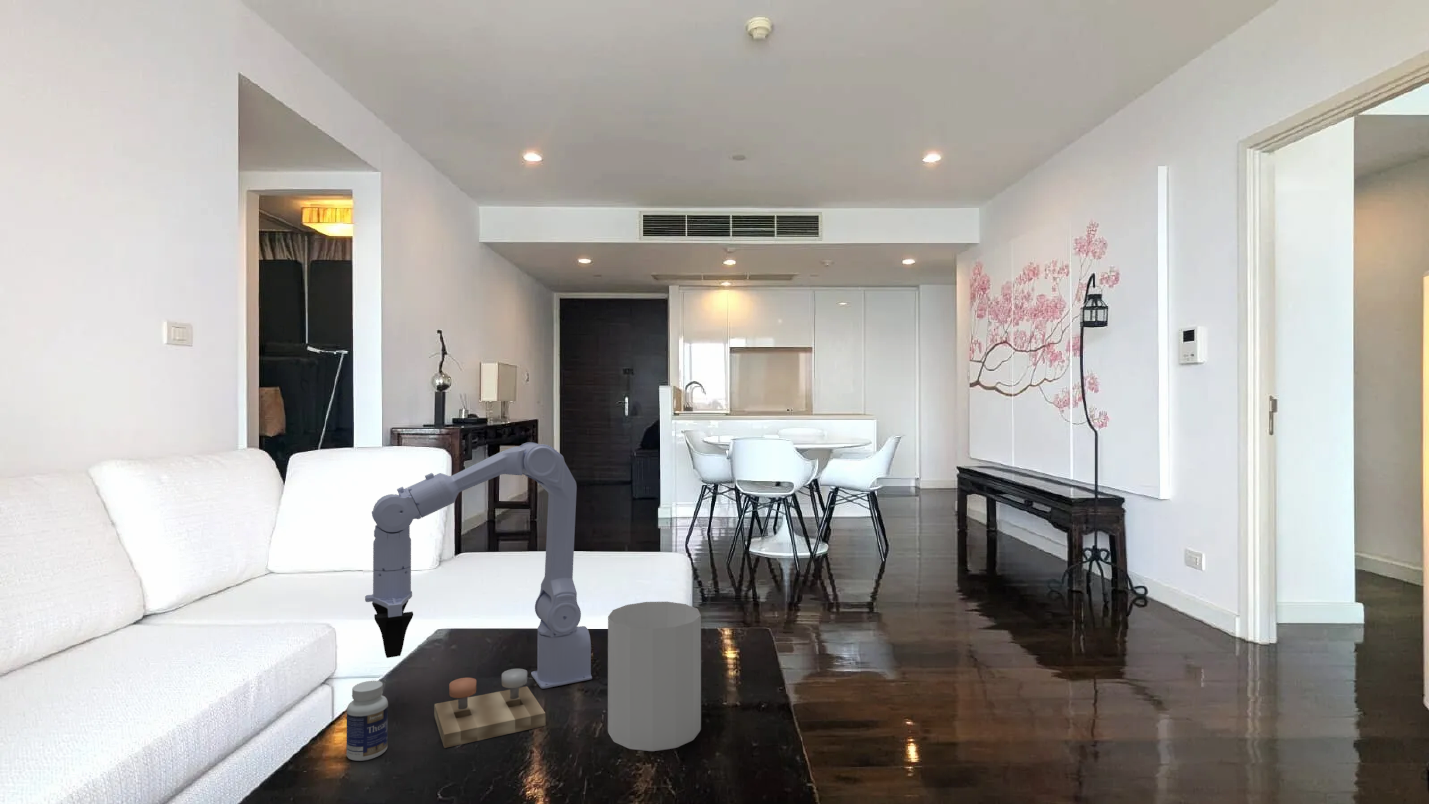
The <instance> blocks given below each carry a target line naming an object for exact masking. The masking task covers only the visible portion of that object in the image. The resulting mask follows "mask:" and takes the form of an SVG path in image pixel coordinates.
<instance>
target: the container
mask: <svg viewBox="0 0 1429 804" xmlns="http://www.w3.org/2000/svg"><path fill="white" fill-rule="evenodd" d="M701 730H702V615H701V612H700V611H699V609H698V608H696V607H695V606H694V607H693V606H692V605H689V604H686V603H680V602H674V601H673V602H671V601H642V602H636V603H632V604H631V603H630V604H625V605H622V606H621V607H620V606H619V607H618V608H614V609H612V611H611V612H610V613H609V614H608V617H607V733H608V734H609V736H610V738H611V740H612V741H613V743H614V744H615V743H616V744H618V745H620V746H623V747H624V748H627V749H629V750H636V751H648V752H655V751H664V750H670V749H671V750H672V749H676V748H679V747H681V746H684V745H685V744H688V743H690V742H692V741H694V740H695V738H696V737H697V736H698V735H699V733H700V732H701Z"/></svg>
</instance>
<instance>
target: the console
mask: <svg viewBox="0 0 1429 804" xmlns="http://www.w3.org/2000/svg"><path fill="white" fill-rule="evenodd" d="M433 707H434V714H433V715H434V720H435V723H436V725H437V729H438V732H439V736H440V739H441V742H442V745H443V748H444V749H446V748H451V747H456V746H460V745H465V744H468V743H469V744H470V743H474V742H478V741H483V740H487V739H492V738H495V737H501V736H505V735H509V734H510V735H511V734H514V733H519V732H524V731H527V730H533V729H537V728H542V727H545V726H546V712H545V711H544V709H543V707H542V706H541V704H540V703H539V702H538V700H537V698H536V696H534V694H533V693H532V691H531V690H530V688H529V687H528V686H527V685H526V686H521V687H519V697H518V698H516V699H511V698H510V689H505V690H500V691H495V692H491V693H490V692H489V693H485V694H480V695H473V696H469V697H468V707H467V708H466V709H458V699H454V700H448V701H443V702H438V703H437V702H436V703H434V706H433Z"/></svg>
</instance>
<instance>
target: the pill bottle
mask: <svg viewBox="0 0 1429 804" xmlns="http://www.w3.org/2000/svg"><path fill="white" fill-rule="evenodd" d="M383 687H384V684H383V682H382V681H380V680H368V681H367V680H366V681H362V682H360V683H357V684H355V685H354V686H353V687H352V690H351V693H352V694H351V697H352V700H351V701H350V702H349V703H348V705H347V707H346V746H345V747H346V749H345V750H346V757H347V758H348V759H349V760H352V761H357V762H359V761H360V762H362V761H369V760H372V759H375V758H377V757H380V756H381V755H383V754H384V753H385V752H386V751H387V750H388V740H389V738H388V737H389V736H388V733H389V731H388V730H389V720H388V719H389V715H388V714H389V701H388V698H387V697H386V696H384V695H383V693H384V688H383Z"/></svg>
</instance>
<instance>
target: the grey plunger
mask: <svg viewBox="0 0 1429 804" xmlns="http://www.w3.org/2000/svg"><path fill="white" fill-rule="evenodd" d="M527 684H528V670H526V669H525V668H524V669H523V668H511V669H510V668H509V669H508V670H504V671H503V672H502V673H501V687H504V688H506V689H509V690H510V698H511V699H516V698H518V697H519V688H520V687H524V686H525V685H527Z"/></svg>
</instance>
